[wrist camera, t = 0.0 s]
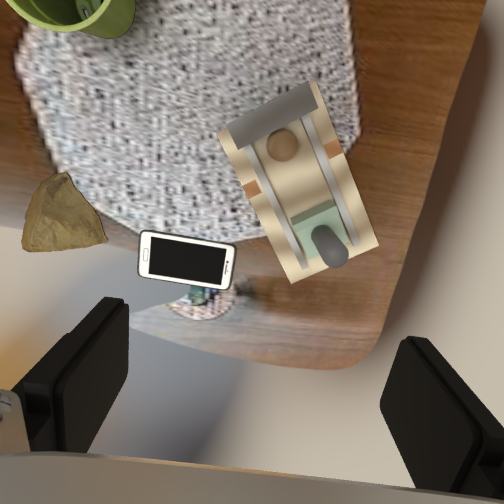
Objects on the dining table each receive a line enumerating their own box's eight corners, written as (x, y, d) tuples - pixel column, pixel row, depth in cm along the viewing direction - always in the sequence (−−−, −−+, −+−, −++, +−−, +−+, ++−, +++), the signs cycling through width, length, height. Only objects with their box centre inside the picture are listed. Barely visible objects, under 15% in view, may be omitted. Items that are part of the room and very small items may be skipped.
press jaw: (289, 218, 46) (298, 240, 36) (329, 199, 45) (349, 216, 35) (306, 254, 47) (319, 284, 38) (345, 237, 46) (368, 263, 37)
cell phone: (141, 227, 49) (139, 229, 48) (237, 243, 49) (237, 245, 48) (138, 274, 51) (136, 276, 50) (230, 289, 52) (229, 291, 51)
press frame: (217, 134, 44) (210, 133, 37) (313, 82, 41) (325, 71, 34) (290, 279, 51) (295, 302, 44) (375, 242, 49) (395, 260, 41)
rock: (20, 164, 43) (17, 237, 45) (25, 169, 37) (22, 254, 39) (106, 177, 50) (100, 240, 52) (123, 184, 44) (116, 255, 46)
